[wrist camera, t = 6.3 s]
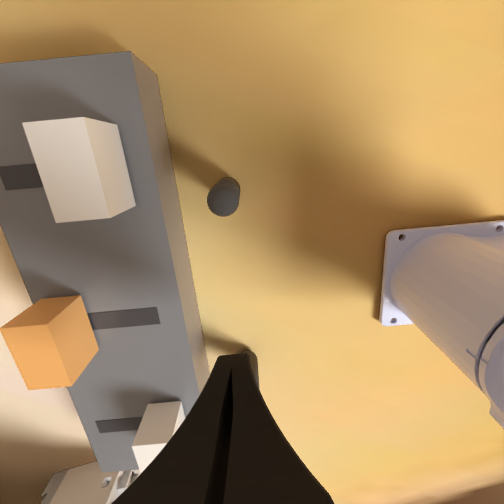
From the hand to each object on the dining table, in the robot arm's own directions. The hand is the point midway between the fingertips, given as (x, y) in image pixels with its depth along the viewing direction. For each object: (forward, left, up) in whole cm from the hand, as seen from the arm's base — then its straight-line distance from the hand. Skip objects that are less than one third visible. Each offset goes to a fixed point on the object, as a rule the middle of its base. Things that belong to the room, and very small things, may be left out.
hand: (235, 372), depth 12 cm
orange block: (+11, 0, -5) cm, 12 cm away
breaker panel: (+8, 0, -9) cm, 12 cm away
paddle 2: (+6, +9, -5) cm, 12 cm away
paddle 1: (+6, -9, -5) cm, 12 cm away
